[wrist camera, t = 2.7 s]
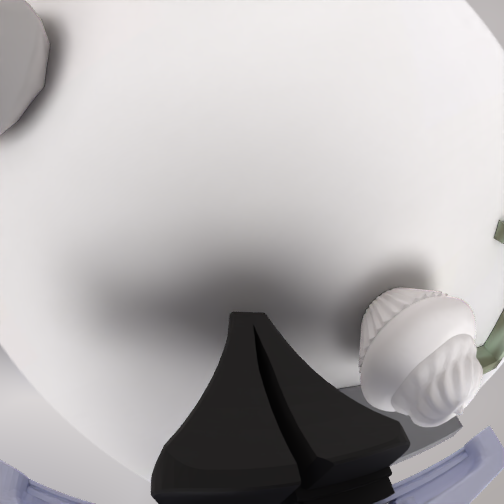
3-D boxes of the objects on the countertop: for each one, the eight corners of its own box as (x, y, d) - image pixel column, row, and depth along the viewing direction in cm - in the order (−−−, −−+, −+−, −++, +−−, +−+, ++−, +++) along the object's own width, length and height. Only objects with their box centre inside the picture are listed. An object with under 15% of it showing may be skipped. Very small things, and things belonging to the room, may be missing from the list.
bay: (483, 352, 18) (495, 367, 16) (428, 371, 16) (443, 392, 14) (537, 235, 13) (555, 247, 11) (499, 220, 11) (526, 235, 9)
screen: (410, 392, 17) (442, 446, 12) (267, 417, 15) (284, 498, 10) (434, 357, 16) (475, 414, 10) (279, 380, 14) (305, 478, 8)
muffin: (394, 236, 11) (510, 334, 5) (446, 289, 13) (521, 365, 6) (309, 339, 13) (361, 467, 6) (378, 366, 15) (428, 454, 8)
